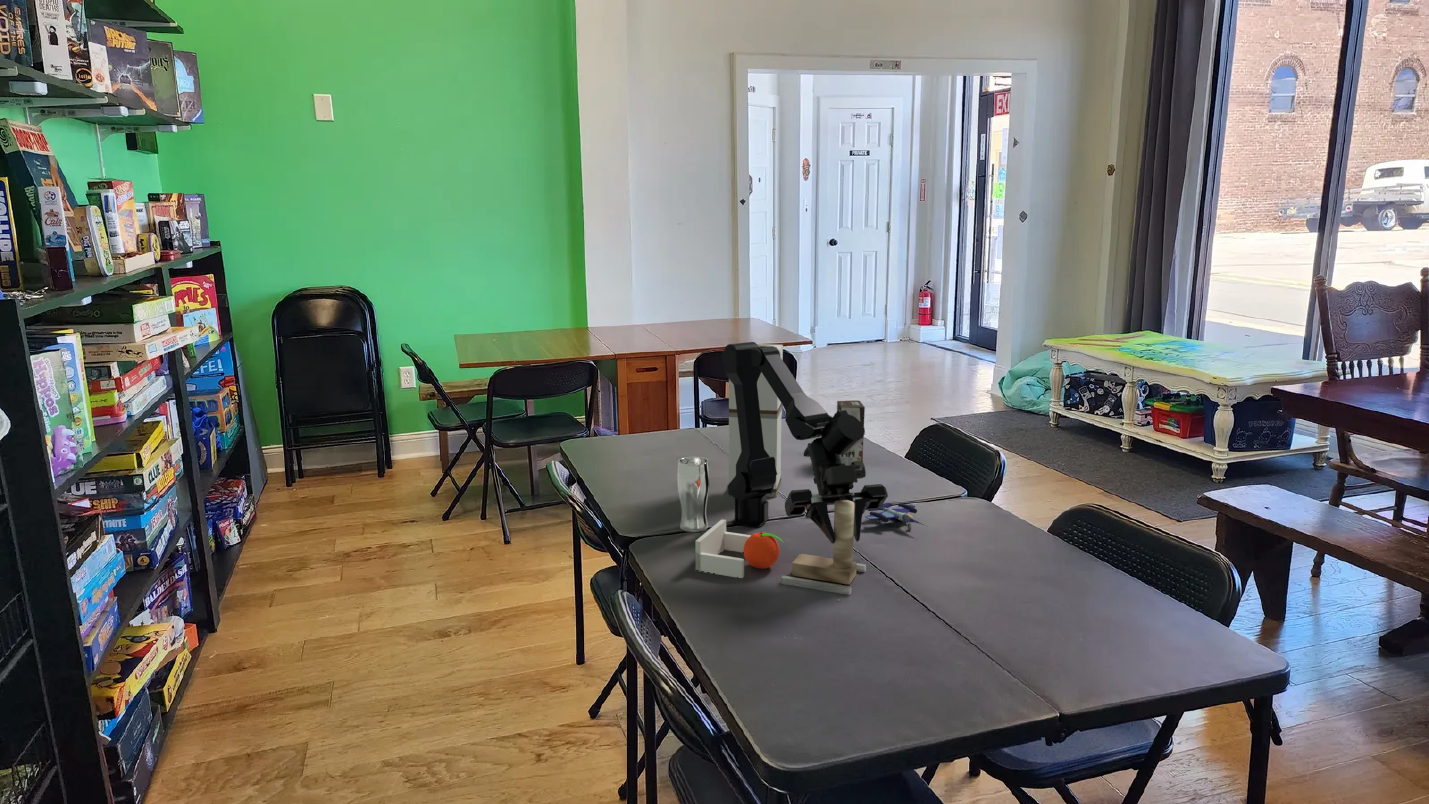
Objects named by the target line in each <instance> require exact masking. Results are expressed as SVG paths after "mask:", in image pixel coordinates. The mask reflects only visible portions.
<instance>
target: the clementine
mask: <svg viewBox="0 0 1429 804" xmlns="http://www.w3.org/2000/svg"><path fill="white" fill-rule="evenodd" d="M777 539H778V540H779V541H781V542H782V544H783V546H784V547H786V546H785V543H784V541H783V540H782V539H781V537H779V536H777V534H773V533H768V532H764V531H760V532H755V533H753V534H752V535H751V536H750V537H749V538H748V539H747V540H746V542H745V545H744V549H743V550H744V553H743V556H744V560H745V561H747V563H748V564H749V565H750V566H752V567H753V568H754V569H760V570H761V569H762V570H764V569H768V568H771V567H772V566H774V564H775V563H776V562H777V560H778V559H779V557H780V551H781V550H780V546H779V543H778V541H777Z"/></svg>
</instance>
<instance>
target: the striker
mask: <svg viewBox="0 0 1429 804" xmlns="http://www.w3.org/2000/svg"><path fill="white" fill-rule="evenodd" d="M833 508H834V509H833V511H834V512H833V513H834V515H833V517H834V518H833V531H834V535H835V543H834V544H833V546H832V547H833V550H832V554H833V555H832V558H831V557H828V556H827V557H826V556H819V555H813V554H805V553H800V554H799V555H798V556H797V557H796V558H795V559H794V560H793V561H792V562H791V563H792V564H791V576H792V577H798V578H804V579H810V580H816V581H823V582H829V583H831V582H832V583H835V584H841V585H842V584H844V585H847V586H849V585H851V583H852V581H853V580H854V578H855V577H856V576H857V571H856V567H857V561H854V560H853V559H854V502H852V501H849V500H838V501H835V505H834V507H833Z"/></svg>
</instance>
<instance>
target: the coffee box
mask: <svg viewBox="0 0 1429 804" xmlns="http://www.w3.org/2000/svg"><path fill="white" fill-rule="evenodd" d="M865 409H866V407H865V405H863V403H862V401H861V400H854V399H853V400H837V401H836V412H837V411H840V410H846V411H847V413H848V414H849V415H852V416H854V417H856V418H857V419H858V420H859V421H860V422H862V424H863V426H864V427H865V412H866V411H865ZM864 437H865V436H864ZM864 437H863V438H862V439H861V440H860V441H859V442H858V443H857V444H855V445H854V446H853V447H852V448H851V449H850V450H849V451H848V452H847V453H846V454H843V455H840V456H841V460H842V464H843V463H845V465H851V463H852V462H854V461H863V462H864V460H863V459H864Z"/></svg>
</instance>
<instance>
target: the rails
mask: <svg viewBox="0 0 1429 804" xmlns="http://www.w3.org/2000/svg"><path fill="white" fill-rule="evenodd" d="M866 571H867V564H864V563H860V562H859V563H857V567H856V572H859V573H861V572H862V573H866ZM780 584H781V585H786V586H792V585H793V586H794V587H798V588H804V589H805V588H806V589H811V590H816V591H817V590H818V591H824V592H828V593H829V592H830V593H835V594H842V595H845V596H850V595H851V593H852V586H849V585H845V584H844V585H842V584H839V583H833V582H832V583H831V582H827V581H820V580H814V579H808V578H802V577H796V576H789V575H788V576H787V575H782V576H781V577H780Z"/></svg>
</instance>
